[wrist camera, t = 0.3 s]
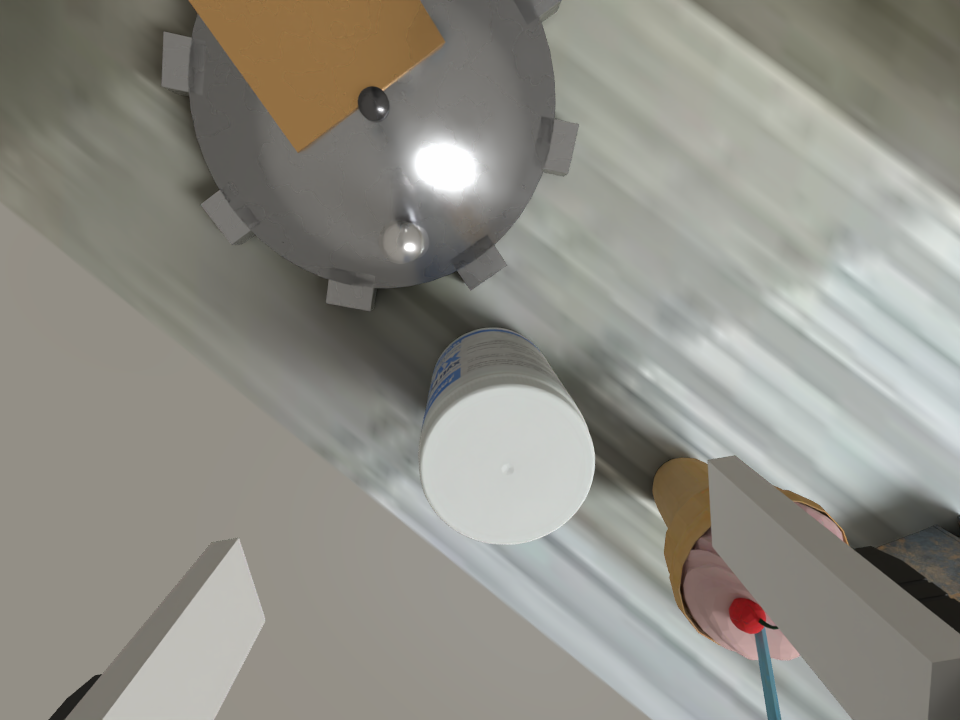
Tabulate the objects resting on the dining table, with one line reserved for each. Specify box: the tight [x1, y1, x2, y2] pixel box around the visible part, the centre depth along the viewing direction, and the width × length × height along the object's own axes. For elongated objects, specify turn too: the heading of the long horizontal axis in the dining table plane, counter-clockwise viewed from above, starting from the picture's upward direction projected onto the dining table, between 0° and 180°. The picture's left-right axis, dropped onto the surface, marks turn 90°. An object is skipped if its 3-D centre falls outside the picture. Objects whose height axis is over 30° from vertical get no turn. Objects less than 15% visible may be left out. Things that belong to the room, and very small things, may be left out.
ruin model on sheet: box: [876, 516, 960, 602], centre depth 40 cm, size 11×3×10 cm, turn 113°
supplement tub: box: [419, 328, 595, 545], centre depth 32 cm, size 10×10×15 cm
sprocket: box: [162, 0, 579, 311], centre depth 30 cm, size 27×27×9 cm
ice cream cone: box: [652, 458, 849, 720], centre depth 32 cm, size 11×11×20 cm
